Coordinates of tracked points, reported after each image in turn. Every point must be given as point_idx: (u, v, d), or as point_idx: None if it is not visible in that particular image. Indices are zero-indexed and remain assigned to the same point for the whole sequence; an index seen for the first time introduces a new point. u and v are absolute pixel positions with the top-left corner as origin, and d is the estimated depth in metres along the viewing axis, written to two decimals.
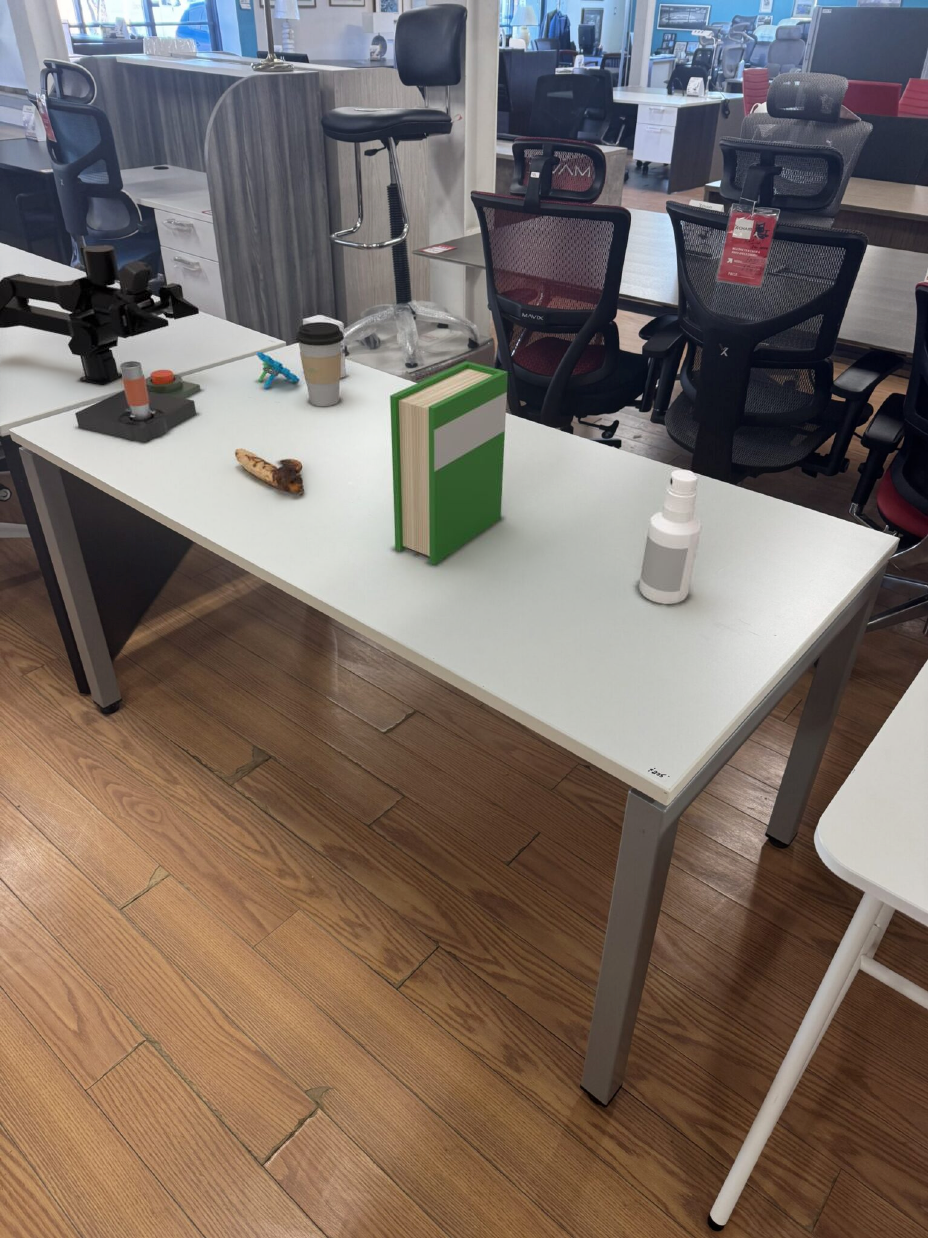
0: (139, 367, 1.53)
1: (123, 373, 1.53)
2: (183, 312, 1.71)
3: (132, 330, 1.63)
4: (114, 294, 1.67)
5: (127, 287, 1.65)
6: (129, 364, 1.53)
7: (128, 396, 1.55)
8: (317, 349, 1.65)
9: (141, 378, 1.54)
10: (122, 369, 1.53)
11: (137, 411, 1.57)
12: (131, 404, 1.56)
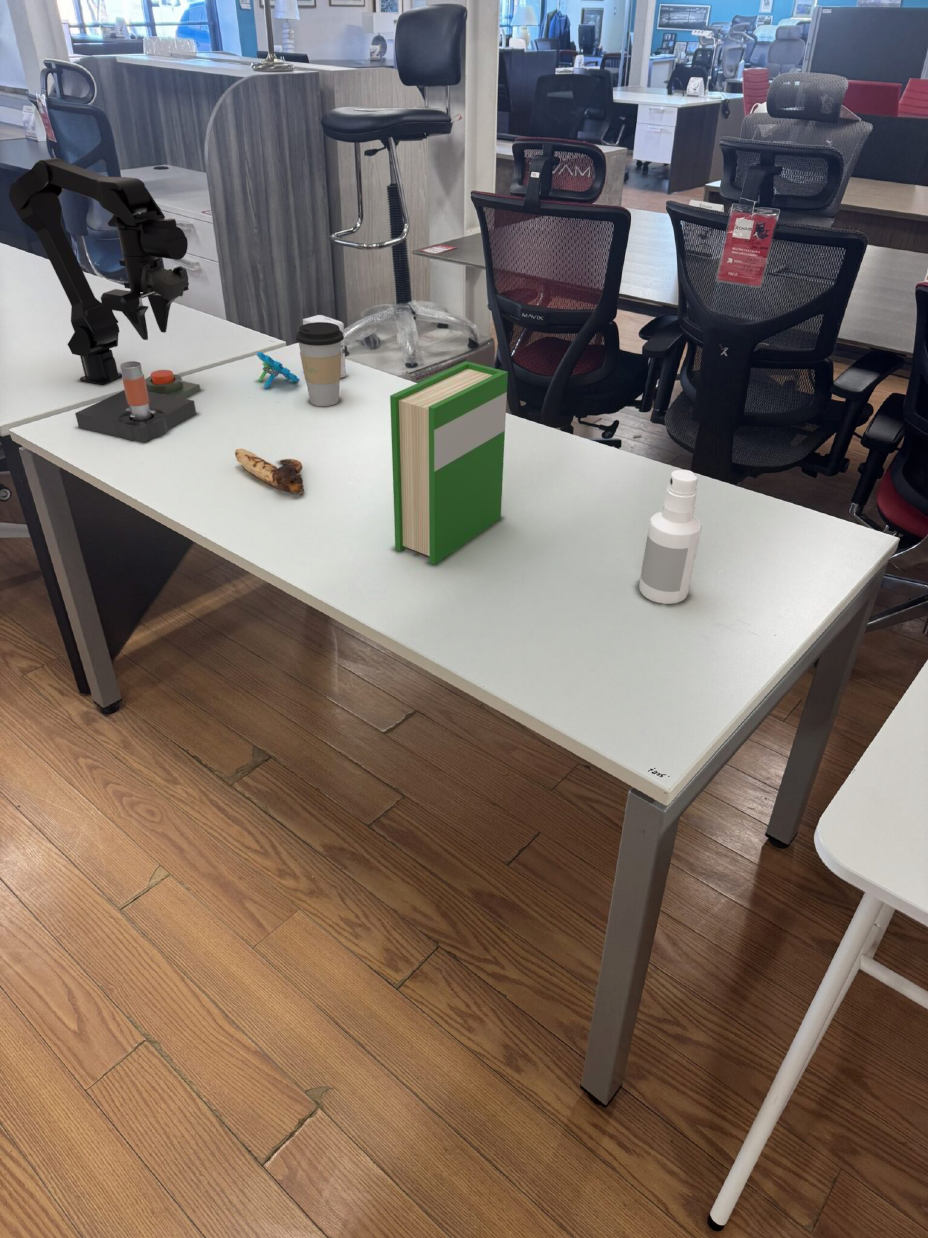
0: (139, 367, 1.53)
1: (123, 373, 1.53)
2: (156, 311, 1.70)
3: None
4: (141, 264, 1.59)
5: (153, 286, 1.61)
6: (129, 364, 1.53)
7: (128, 396, 1.55)
8: (317, 349, 1.65)
9: (141, 378, 1.54)
10: (122, 369, 1.53)
11: (137, 411, 1.57)
12: (131, 404, 1.56)
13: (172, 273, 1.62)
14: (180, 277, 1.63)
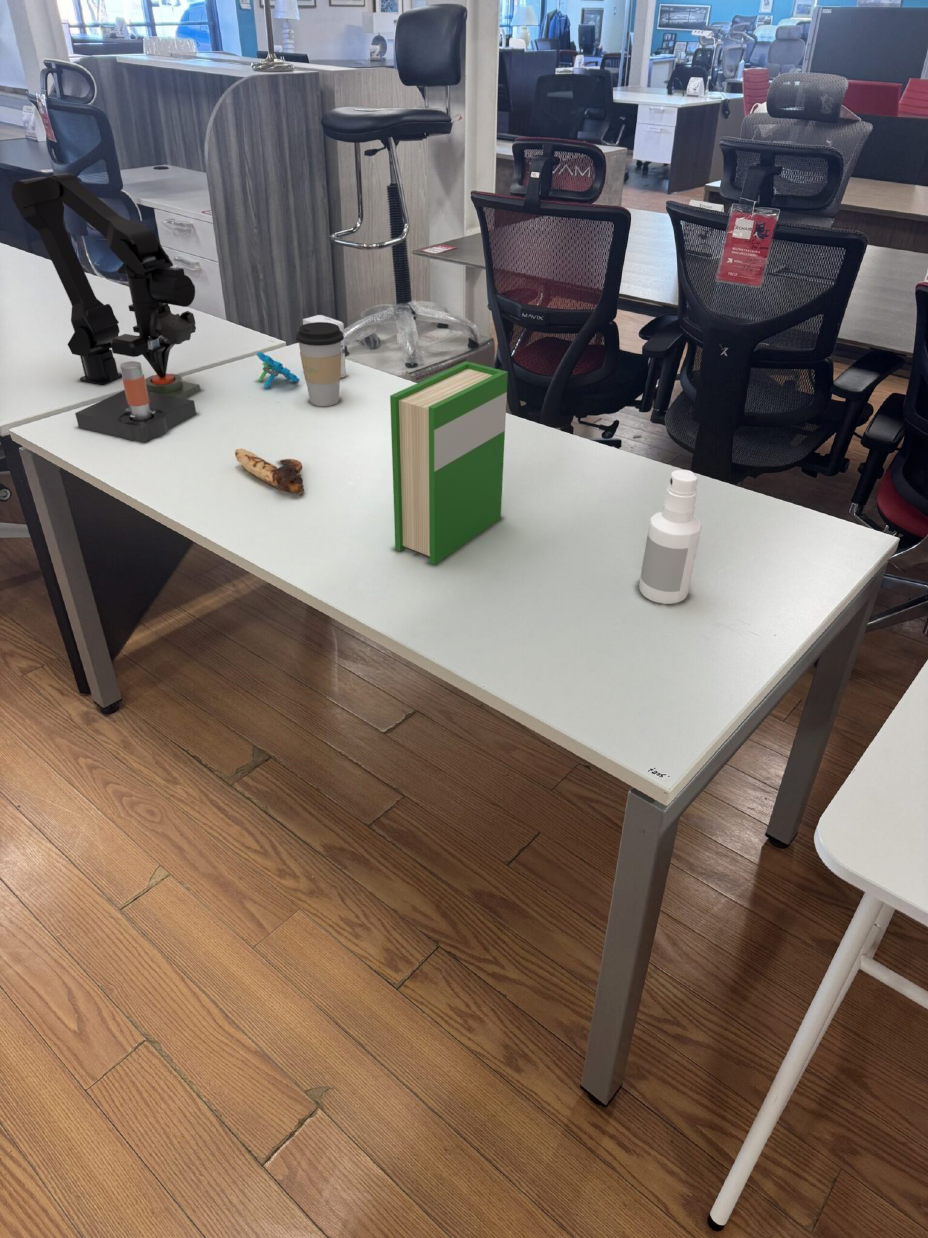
0: (139, 367, 1.53)
1: (123, 373, 1.53)
2: None
3: None
4: (150, 310, 1.64)
5: (162, 331, 1.66)
6: (129, 364, 1.53)
7: (128, 396, 1.55)
8: (317, 349, 1.65)
9: (141, 378, 1.54)
10: (122, 369, 1.53)
11: (137, 411, 1.57)
12: (131, 404, 1.56)
13: (180, 318, 1.67)
14: (187, 322, 1.67)
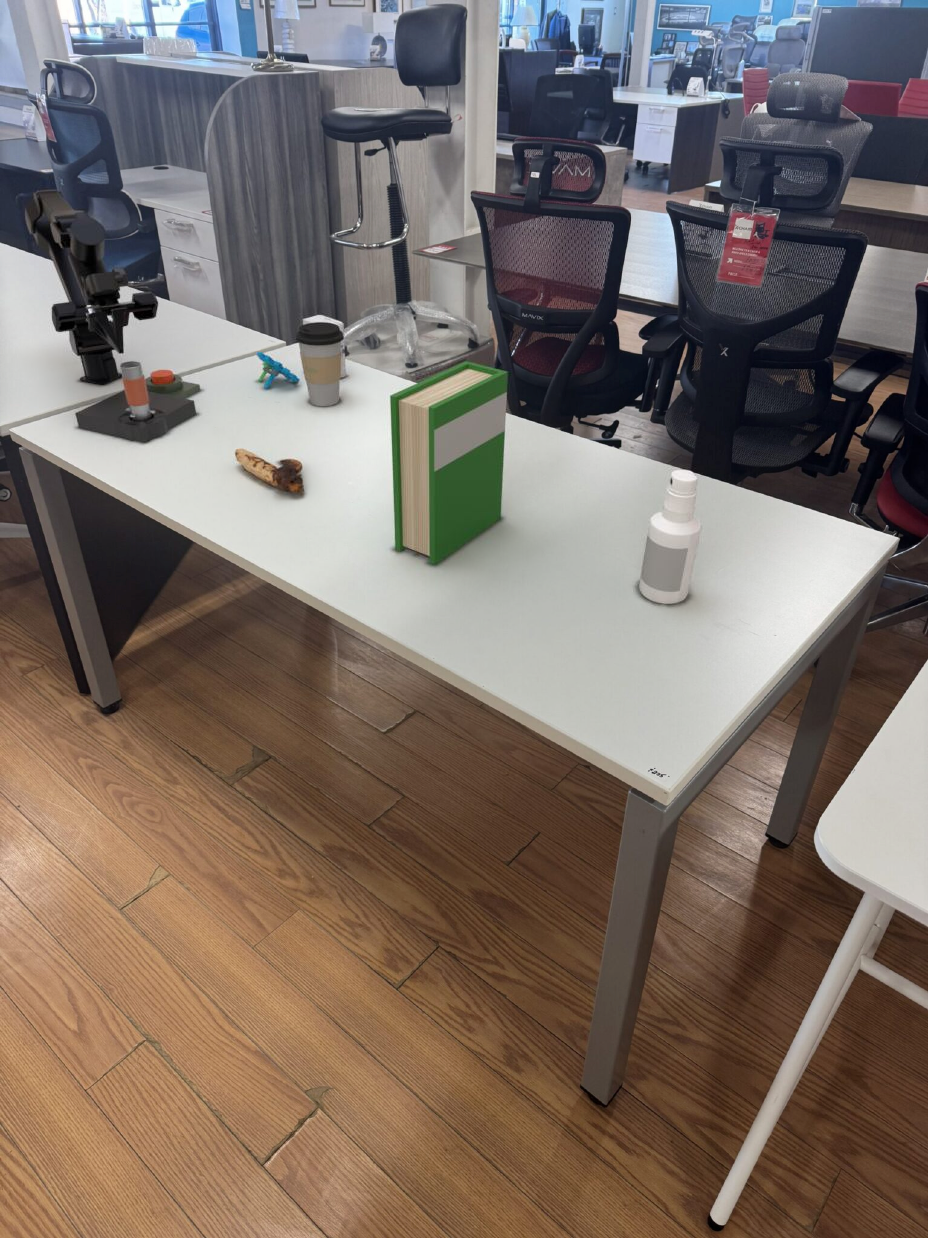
0: (139, 367, 1.53)
1: (123, 373, 1.53)
2: (115, 336, 1.61)
3: (92, 328, 1.60)
4: (81, 277, 1.57)
5: (88, 289, 1.55)
6: (129, 364, 1.53)
7: (128, 396, 1.55)
8: (317, 349, 1.65)
9: (141, 378, 1.54)
10: (122, 369, 1.53)
11: (137, 411, 1.57)
12: (131, 404, 1.56)
13: None
14: None
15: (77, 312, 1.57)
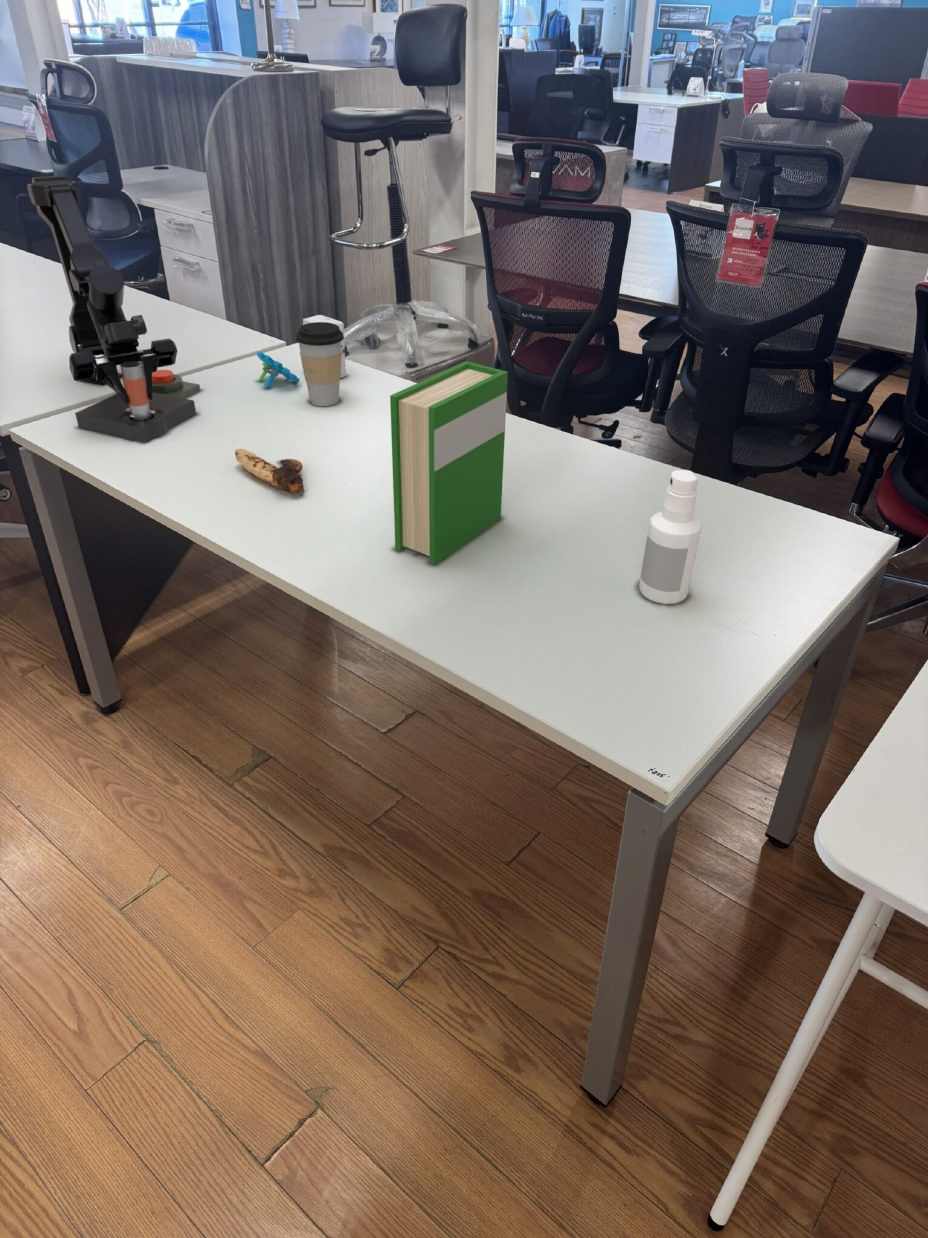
0: (139, 367, 1.53)
1: (123, 373, 1.53)
2: None
3: (100, 378, 1.56)
4: (100, 325, 1.54)
5: (107, 338, 1.52)
6: (129, 364, 1.53)
7: (128, 396, 1.55)
8: (317, 349, 1.65)
9: (141, 378, 1.54)
10: (122, 369, 1.53)
11: (137, 411, 1.57)
12: (131, 404, 1.56)
13: None
14: None
15: None
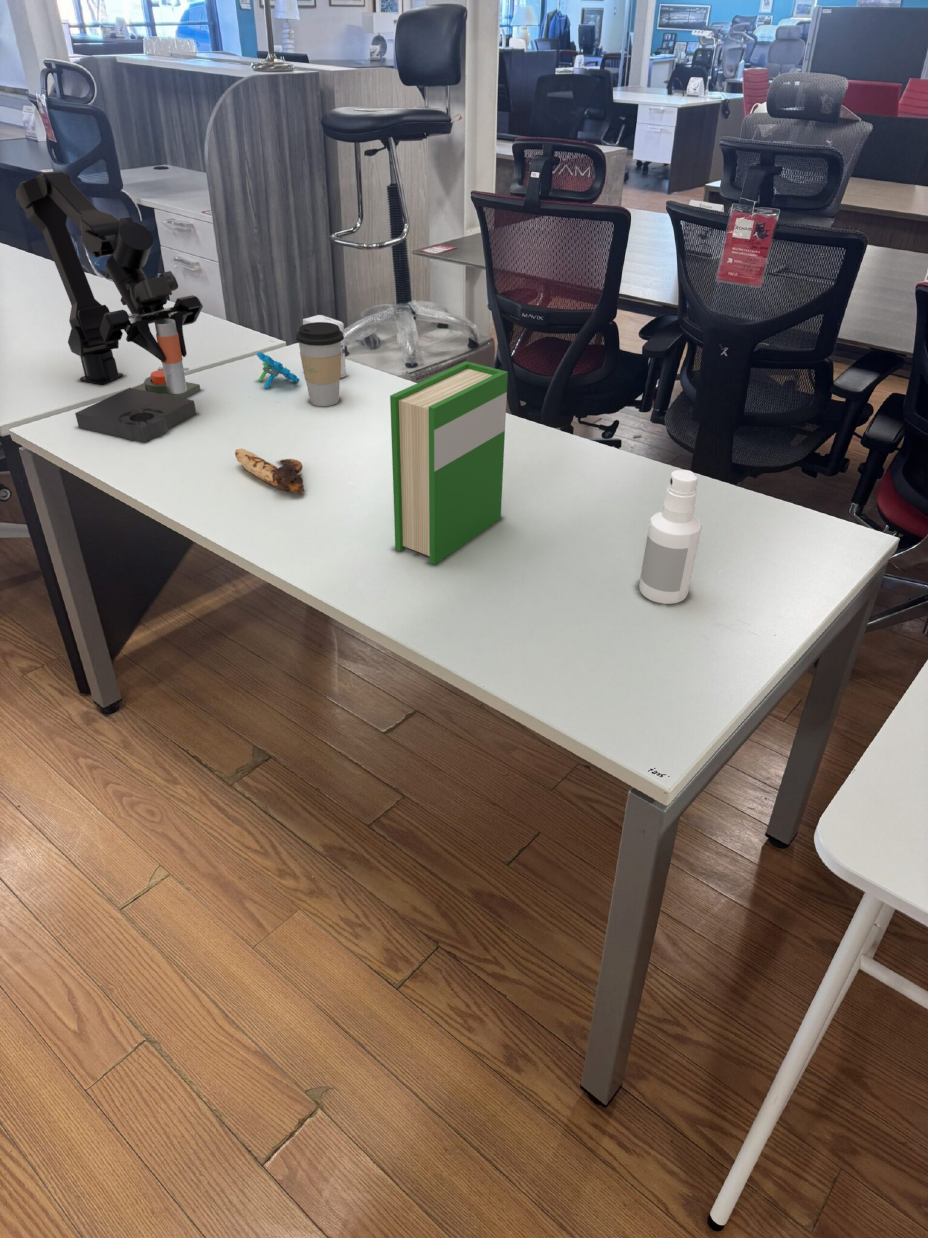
0: (174, 323, 1.54)
1: (159, 330, 1.53)
2: None
3: (130, 338, 1.55)
4: (127, 284, 1.53)
5: (139, 296, 1.51)
6: (164, 321, 1.53)
7: (164, 354, 1.55)
8: (317, 349, 1.65)
9: (176, 334, 1.55)
10: (158, 326, 1.53)
11: (173, 369, 1.57)
12: (167, 362, 1.56)
13: None
14: None
15: None
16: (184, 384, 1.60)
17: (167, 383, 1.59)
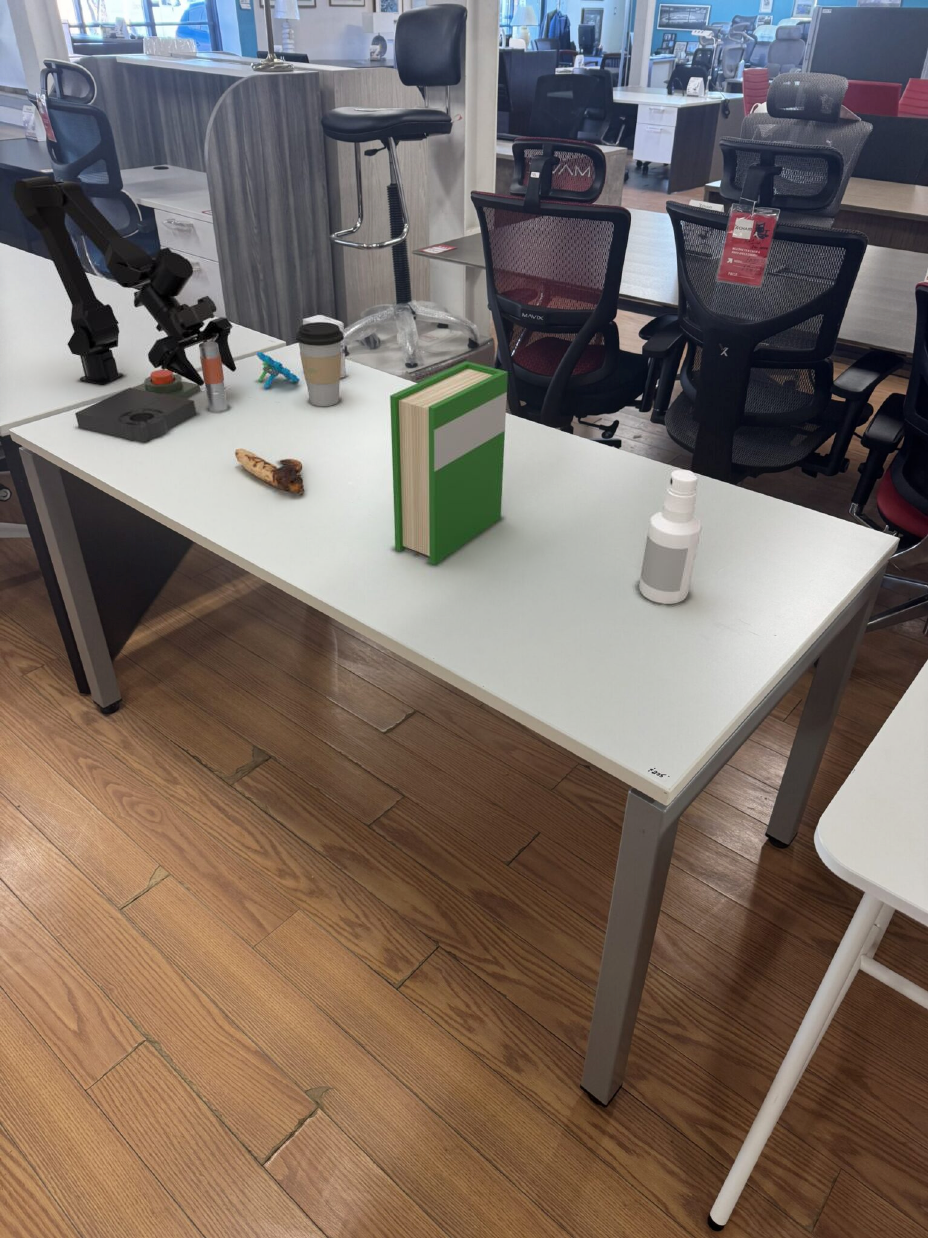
0: None
1: (206, 353, 1.63)
2: None
3: (166, 366, 1.61)
4: (167, 311, 1.61)
5: (184, 321, 1.60)
6: (208, 344, 1.63)
7: (210, 375, 1.65)
8: (317, 349, 1.65)
9: (219, 355, 1.65)
10: (204, 349, 1.62)
11: (218, 388, 1.67)
12: (212, 382, 1.66)
13: None
14: (204, 302, 1.61)
15: None
16: (226, 402, 1.70)
17: (211, 402, 1.68)
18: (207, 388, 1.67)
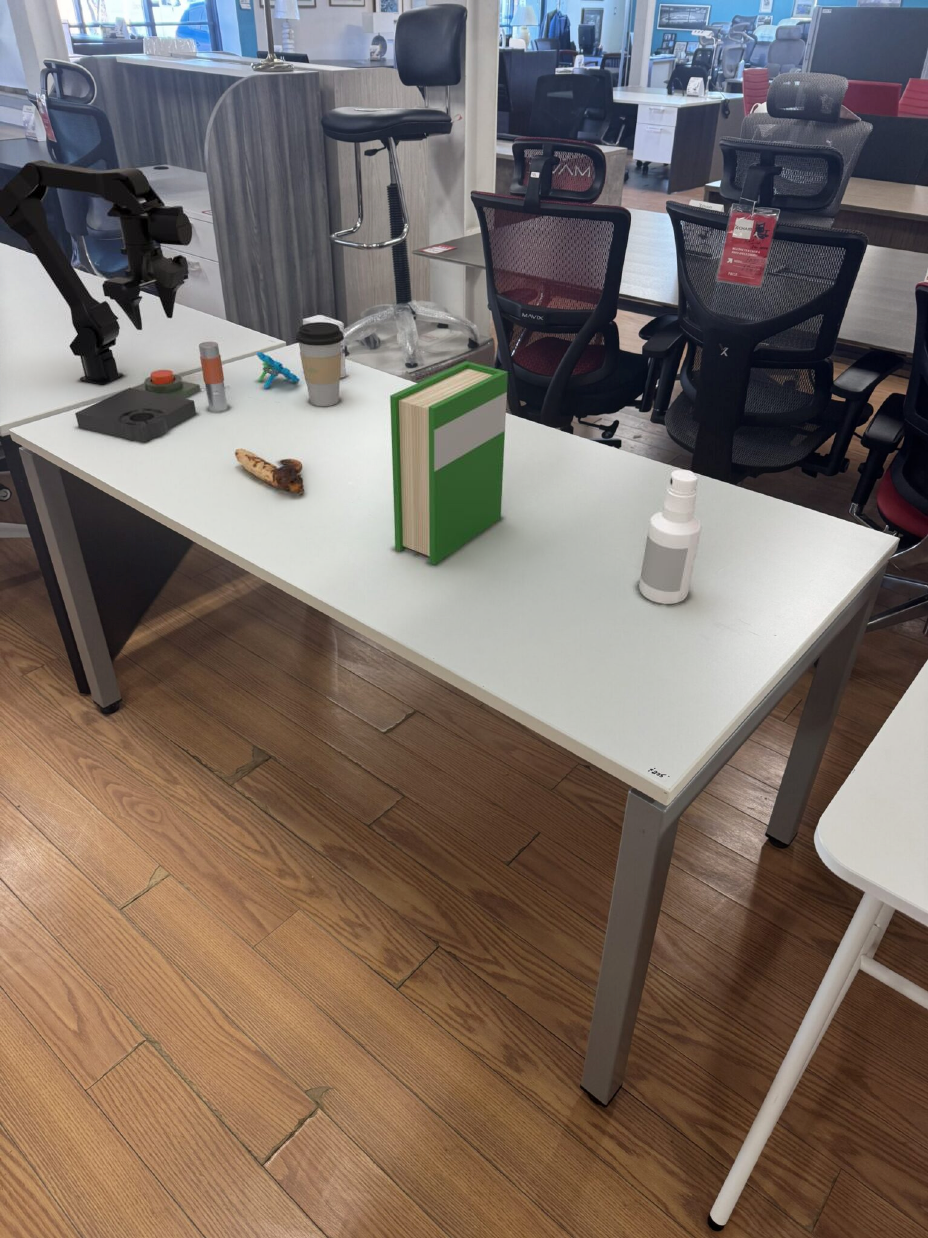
0: None
1: (206, 353, 1.63)
2: (162, 297, 1.75)
3: None
4: (142, 253, 1.62)
5: (154, 274, 1.64)
6: (208, 344, 1.63)
7: (210, 375, 1.65)
8: (317, 349, 1.65)
9: (219, 355, 1.65)
10: (204, 349, 1.62)
11: (218, 388, 1.67)
12: (212, 382, 1.66)
13: (172, 262, 1.66)
14: (180, 265, 1.66)
15: None
16: (226, 402, 1.70)
17: (211, 402, 1.68)
18: (207, 388, 1.67)
